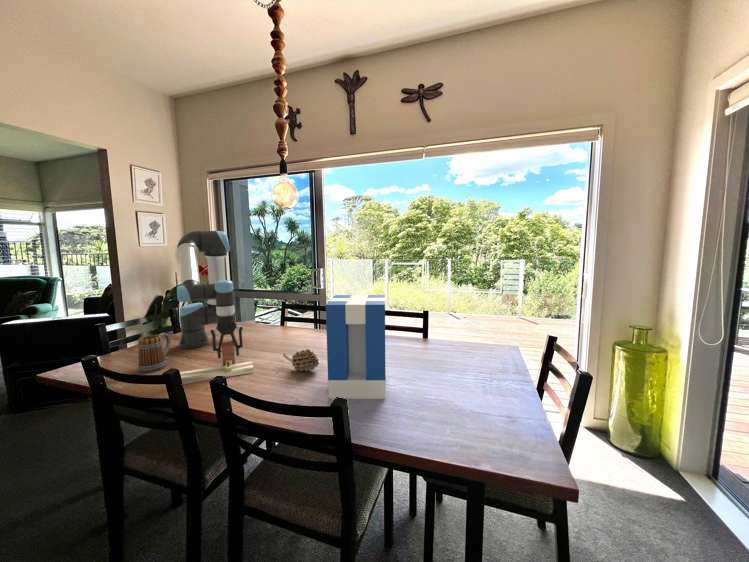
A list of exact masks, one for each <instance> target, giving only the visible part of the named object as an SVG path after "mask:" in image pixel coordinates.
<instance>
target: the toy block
mask: <svg viewBox="0 0 749 562" xmlns="http://www.w3.org/2000/svg"><path fill="white" fill-rule="evenodd" d="M325 320H326V321H325V325H326V328H325V330H326V356H327V357H326V358H327V386H328V387H327V388H328V389H327V391H328V399H337V398H336V397H341V398H347V400H348V399H355V400H356V399H361V400H362V399H364V400H365V399H366V400H372V399H373V400H378V399H379V400H380V399H381V400H382V399H383V400H385V399H386V398H387V397H386V395H387V392H386V390H387V388H386V380H387V379H386V377H387V376H386V295H385V294H335V295H333V297H332V298H331V299H330V300H329V301H328V302H327V303H325Z"/></svg>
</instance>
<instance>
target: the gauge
mask: <svg viewBox="0 0 749 562" xmlns="http://www.w3.org/2000/svg"><path fill="white" fill-rule="evenodd" d="M234 348H235V345H234V342H233V340H232V339H227V340H226V339H225V340H223V341H222V346H221V350H222V357H223V366H225V372H228V371H232V364H235V354H234Z"/></svg>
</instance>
